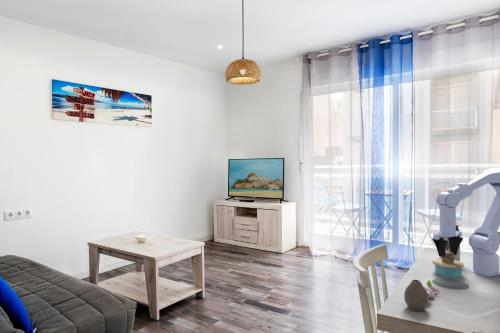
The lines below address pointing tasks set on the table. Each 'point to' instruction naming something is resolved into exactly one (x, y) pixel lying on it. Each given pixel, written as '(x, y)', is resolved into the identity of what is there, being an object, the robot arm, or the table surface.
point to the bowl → (448, 271)
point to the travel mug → (456, 257)
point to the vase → (416, 296)
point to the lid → (448, 261)
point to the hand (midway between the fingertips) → (447, 255)
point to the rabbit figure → (431, 290)
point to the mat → (450, 283)
